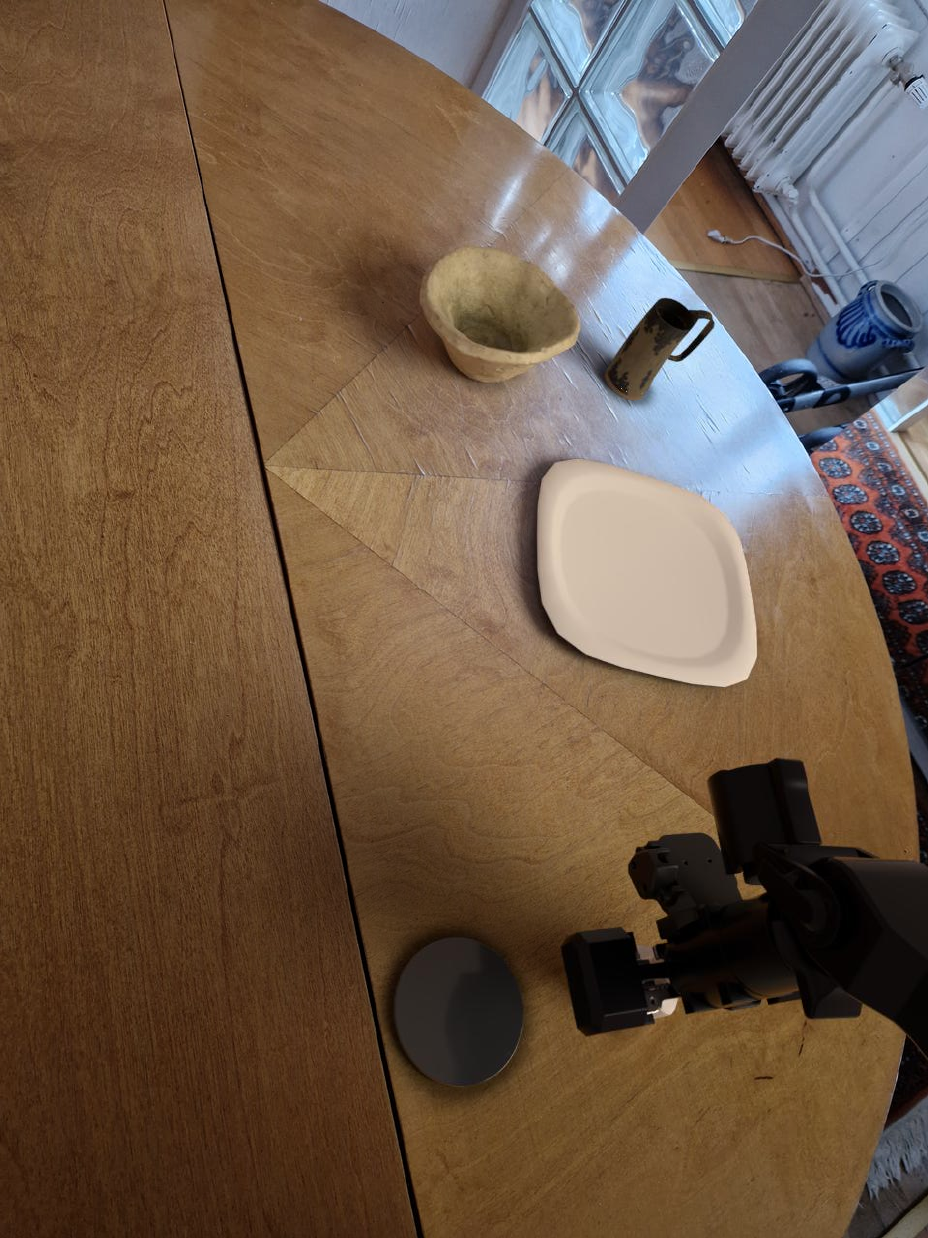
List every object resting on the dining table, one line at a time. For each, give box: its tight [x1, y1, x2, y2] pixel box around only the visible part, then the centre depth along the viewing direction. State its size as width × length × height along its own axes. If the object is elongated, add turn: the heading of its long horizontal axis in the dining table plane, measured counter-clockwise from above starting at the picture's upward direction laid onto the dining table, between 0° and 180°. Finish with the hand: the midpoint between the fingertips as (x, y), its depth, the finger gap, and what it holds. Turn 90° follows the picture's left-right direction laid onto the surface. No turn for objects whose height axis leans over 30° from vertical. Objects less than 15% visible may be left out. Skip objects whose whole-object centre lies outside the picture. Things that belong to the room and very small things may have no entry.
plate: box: [536, 458, 758, 689], centre depth 92 cm, size 25×25×2 cm
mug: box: [604, 297, 716, 401], centre depth 103 cm, size 8×6×12 cm
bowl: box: [418, 246, 581, 384], centre depth 95 cm, size 14×18×15 cm
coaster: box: [392, 936, 525, 1088], centre depth 65 cm, size 10×10×1 cm
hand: (632, 986), depth 68 cm, fingers closed on salt shaker, 5 cm apart
